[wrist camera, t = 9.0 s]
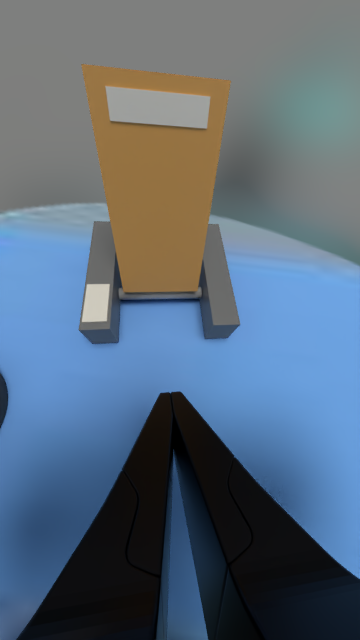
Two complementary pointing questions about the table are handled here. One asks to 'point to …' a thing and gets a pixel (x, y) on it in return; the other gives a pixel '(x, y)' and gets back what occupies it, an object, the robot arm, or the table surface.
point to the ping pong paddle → (3, 399)
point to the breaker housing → (107, 292)
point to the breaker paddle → (157, 169)
